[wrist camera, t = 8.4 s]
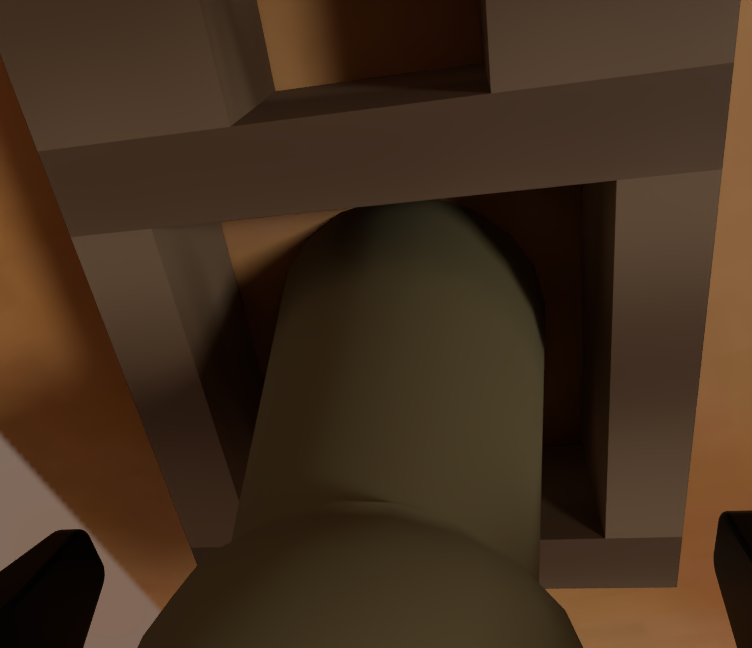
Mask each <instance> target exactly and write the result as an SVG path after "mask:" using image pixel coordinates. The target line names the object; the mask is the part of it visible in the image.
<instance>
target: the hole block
mask: <svg viewBox="0 0 752 648" xmlns="http://www.w3.org/2000/svg"><path fill="white" fill-rule="evenodd" d="M740 1H741V0H479V4H480V20H481V37H482V53H483V64H475V65H468V66H460V67H453V68H446V69H438V70H431V71H423V72H416V73H409V74H401V75H394V76H386V77H379V78H372V79H364V80H357V81H349V82H342V83H335V84H327V85H320V86H312V87H305V88H298V89H290V90H283V91H275V88H274V83H273V78H272V73H271V68H270V63H269V58H268V54H267V49H266V44H265V39H264V34H263V29H262V24H261V20H260V15H259V10H258V5H257V0H0V55H1V58H2V60H3V63H4V66H5V68H6V71H7V73H8V76H9V79H10V81H11V84H12V86H13V89H14V91H15V94H16V97H17V99H18V102H19V104H20V107H21V110H22V112H23V115H24V117H25V120H26V123H27V125H28V128H29V130H30V133H31V136H32V138H33V141H34V143H35V146H36V148H37V151H38V154H39V156H40V159H41V161H42V164H43V167H44V169H45V172H46V174H47V177H48V180H49V182H50V185H51V187H52V190H53V193H54V195H55V198H56V200H57V203H58V205H59V208H60V211H61V213H62V216H63V218H64V221H65V224H66V226H67V229H68V231H69V234H70V237H71V239H72V242H73V244H74V247H75V249H76V252H77V255H78V257H79V260H80V262H81V265H82V268H83V270H84V273H85V275H86V278H87V281H88V283H89V286H90V288H91V291H92V294H93V296H94V299H95V301H96V304H97V306H98V309H99V312H100V314H101V317H102V319H103V322H104V325H105V327H106V330H107V332H108V335H109V338H110V340H111V343H112V345H113V348H114V351H115V353H116V356H117V358H118V361H119V363H120V366H121V369H122V371H123V374H124V376H125V379H126V382H127V384H128V387H129V389H130V392H131V395H132V397H133V400H134V402H135V405H136V408H137V410H138V413H139V415H140V418H141V420H142V423H143V426H144V428H145V431H146V433H147V436H148V439H149V441H150V444H151V446H152V449H153V452H154V454H155V457H156V459H157V462H158V464H159V467H160V470H161V472H162V475H163V477H164V480H165V483H166V485H167V488H168V490H169V493H170V496H171V498H172V501H173V503H174V506H175V509H176V511H177V514H178V516H179V519H180V521H181V524H182V527H183V529H184V532H185V534H186V537H187V540H188V542H189V545H190V547H191V550H192V553H193V555H194V558H195V560H196V563H197V565H198V564H199V563H200V562H201V560H202V559H203V558H204V557H205V556H207V555H209V554H211V553H212V552H214V551H216V550H217V549H219V548H221V547H223V546H224V545H226V544H228V543H230V542H231V540H232V535H233V530H234V525H235V520H236V516H237V511H238V506H239V501H240V497H241V492H242V487H243V482H244V477H245V473H246V468H247V463H248V458H249V454H250V449H251V444H252V439H253V434H254V430H255V425H256V420H257V415H258V411H259V406H260V401H261V396H262V391H263V387H264V384H263V380H262V376H261V372H260V369H259V365H258V361H257V358H256V354H255V350H254V346H253V343H252V339H251V335H250V331H249V328H248V324H247V320H246V317H245V313H244V309H243V305H242V302H241V298H240V294H239V290H238V287H237V283H236V279H235V276H234V272H233V268H232V264H231V261H230V257H229V253H228V249H227V246H226V242H225V238H224V234H223V231H222V227H221V223H220V222H221V221H231V220H240V219H250V218H260V217H269V216H279V215H288V214H298V213H308V212H317V211H327V210H336V209H346V208H356V207H365V206H375V205H384V204H394V203H404V202H413V201H423V200H432V199H442V198H452V197H461V196H471V195H480V194H490V193H500V192H509V191H519V190H528V189H538V188H548V187H557V186H567V185H577V184H583V236H582V376H581V445H561V446H542V477H541V521H540V564H539V584H540V585H541V586H542V587H543V588H544V589H558V588H651V587H677V580H678V571H679V562H680V553H681V543H682V534H683V525H684V516H685V507H686V497H687V488H688V479H689V470H690V461H691V451H692V442H693V433H694V424H695V415H696V406H697V396H698V387H699V378H700V369H701V360H702V350H703V341H704V332H705V323H706V314H707V304H708V295H709V286H710V277H711V268H712V258H713V249H714V240H715V231H716V222H717V213H718V203H719V194H720V185H721V176H722V167H723V157H724V148H725V139H726V130H727V121H728V111H729V102H730V93H731V84H732V75H733V65H734V56H735V47H736V38H737V29H738V19H739V10H740Z"/></svg>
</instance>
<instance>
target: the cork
mask: <svg viewBox="0 0 752 648" xmlns="http://www.w3.org/2000/svg"><path fill="white" fill-rule="evenodd" d="M544 348H545V301H544V297H543V294H542V291H541V288H540V284H539V281H538V278H537V275H536V272H535V268H534V266H533V265H532V263H531V262H530V261H529V260H528V258H527V257H526V256H525V254H524V253H523V252H522V250H521V249H520V248H519V247H518V245H517V244H516V243H515V241H514V240H513V239H512V237H511V236H510V235H509V234H508V233H507V232H505V231H504V230H502V229H501V228H499V227H498V226H496V225H495V224H493V223H492V222H490V221H489V220H487V219H486V218H484V217H483V216H481V215H480V214H478V213H477V212H475V211H474V210H472V209H469V208H465V207H462V206H458V205H455V204H451V203H447V202H444V201H440V200H437V199H432V200H423V201H413V202H404V203H394V204H384V205H375V206H365V207H356V208H353V209H351V210H348V211H345V212H342V213H340V214H339V215H337V216H336V217H335V218H334V219H332V220H331V221H330V222H328V223H327V224H326V225H325V226H323V227H322V228H321V229H320V230H318V231H317V232H316V233H314V234H313V235H312V236H311V237H309V238H308V239H307V241H306V243H305V244H304V246H303V247H302V249H301V251H300V252H299V254H298V255H297V257H296V259H295V260H294V262H293V263H292V265H291V267H290V268H289V270H288V272H287V277H286V281H285V286H284V291H283V296H282V301H281V305H280V310H279V315H278V320H277V324H276V329H275V334H274V339H273V344H272V348H271V353H270V358H269V363H268V368H267V372H266V377H265V382H264V387H263V391H262V396H261V401H260V406H259V411H258V415H257V420H256V425H255V430H254V434H253V439H252V444H251V449H250V454H249V458H248V463H247V468H246V473H245V477H244V482H243V487H242V492H241V497H240V501H239V506H238V511H237V516H236V520H235V525H234V530H233V535H232V540H231V542H230V543H228V544H226V545H224V546H223V547H221V548H219V549H217V550H216V551H214V552H212V553H211V554H209V555H207V556H205V557H204V558H203V559H202V560H201V562H200V563H199V564H198V565H197V567H196V568H195V569H194V570H193V572H192V573H191V574H190V575H189V577H188V578H187V579H186V580H185V582H184V583H183V584H182V585H181V587H180V588H179V589H178V590H177V592H176V593H175V594H174V595H173V596H172V598H171V599H170V601H169V602H168V603H167V605H166V606H165V607H164V609H163V610H162V611H161V613H160V614H159V615H158V617H157V618H156V619H155V621H154V622H153V624H152V625H151V626H150V628H149V629H148V630H147V631H146V633H145V634H144V636H143V637H142V639H141V641H140V644H139V646H138V648H583V646H582V644H581V642H580V640H579V638H578V636H577V634H576V632H575V630H574V628H573V626H572V624H571V621H570V619H569V617H568V615H567V613H566V611H565V610H564V609H563V608H562V607H561V606H560V605H559V604H558V602H557V601H556V600H555V599H554V598H553V597H552V596H551V595H550V594H549V593H548V592H547V591H546V590H545V589H544V588H543V587H542V586H541V585H540V584H539V564H540V521H541V477H542V434H543V391H544Z"/></svg>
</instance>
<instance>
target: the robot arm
mask: <svg viewBox="0 0 752 648" xmlns="http://www.w3.org/2000/svg"><path fill="white" fill-rule="evenodd" d="M714 567H715V573H716V576H717V580H718V583H719V587H720V590H721V594H722V597H723V601H724V604H725V607H726V611H727V614H728V618H729V621H730V625H731V628H732V632H733V635H734V639H735V642H736V645H737V648H752V511H726V512H723V513H722V514H721V515H720V517H719V521H718V528H717V535H716V542H715V549H714ZM104 576H105V574H104V566H103V563H102V561H101V559H100V557H99V555H98V553H97V551H96V549H95V547H94V545H93V543H92V541H91V539H90V537H89V535H88V533H87V532H85V531H84V530H81V529H72V530H58V531H55V532H54V533H52V534H51V535H49V536H48V537H47V538H45V539H44V540H42V541H41V542H40V543H38V544H37V545H36V546H34V547H33V548H32V549H30V550H29V551H28V552H26V553H25V554H24V555H22V556H21V557H19V558H18V559H17V560H15V561H14V562H13V563H11V564H10V565H9V566H7V567H6V568H4V569H3V570H2V571H0V648H83V647H84V644H85V640H86V637H87V634H88V631H89V628H90V625H91V621H92V618H93V615H94V612H95V609H96V605H97V602H98V599H99V596H100V593H101V589H102V586H103V583H104Z"/></svg>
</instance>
